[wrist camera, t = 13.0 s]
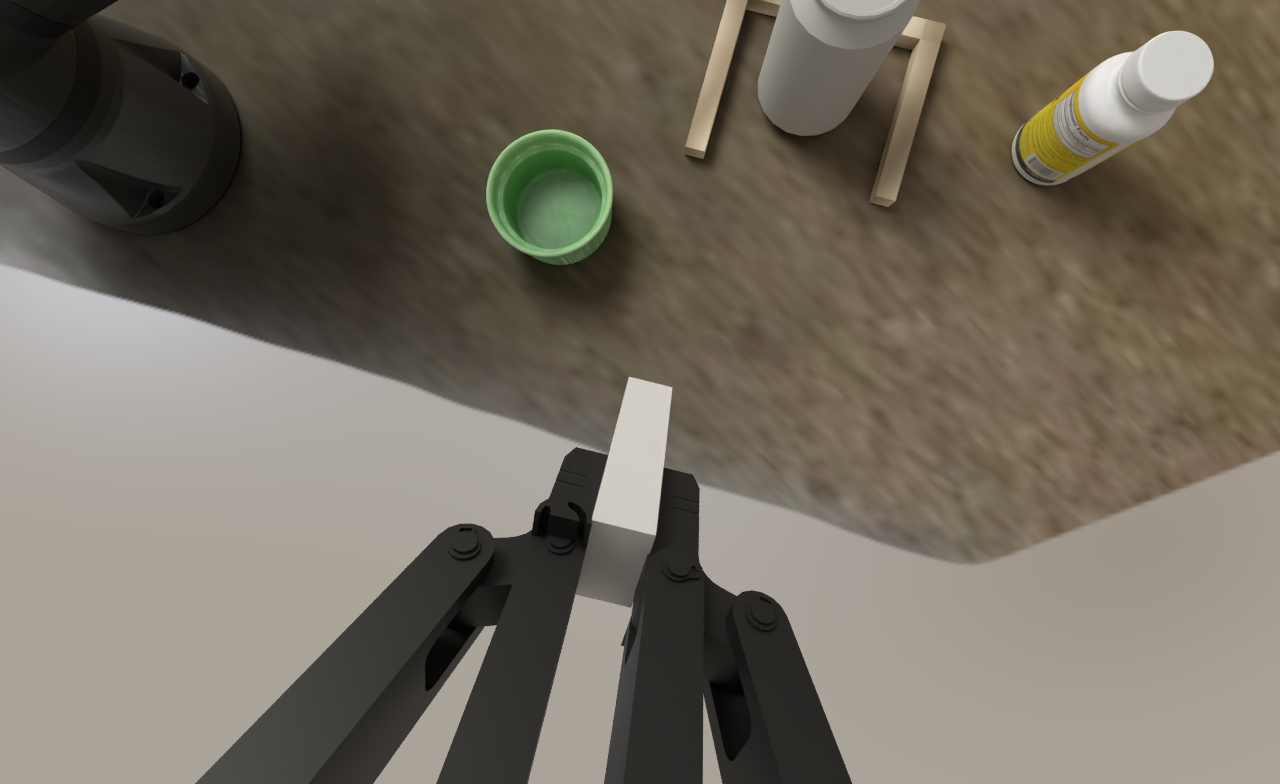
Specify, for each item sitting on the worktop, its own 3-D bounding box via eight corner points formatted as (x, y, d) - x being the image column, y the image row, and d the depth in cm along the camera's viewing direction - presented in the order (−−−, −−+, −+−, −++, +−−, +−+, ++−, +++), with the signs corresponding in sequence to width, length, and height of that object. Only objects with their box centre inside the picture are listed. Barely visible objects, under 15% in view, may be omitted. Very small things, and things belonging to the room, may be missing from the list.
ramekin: (634, 179, 39) (631, 152, 35) (595, 288, 39) (587, 274, 35) (528, 143, 40) (511, 111, 35) (489, 250, 40) (467, 232, 35)
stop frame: (684, 154, 39) (685, 146, 38) (732, -14, 39) (734, -27, 38) (888, 207, 38) (895, 201, 37) (937, 35, 38) (945, 24, 37)
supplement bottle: (1079, 112, 38) (1225, 12, 28) (1085, 184, 38) (1233, 109, 28) (1005, 119, 38) (1123, 22, 28) (1010, 190, 38) (1131, 118, 28)
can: (862, 131, 39) (952, 10, 27) (765, 151, 39) (810, 40, 27) (844, 36, 39) (925, -127, 27) (747, 56, 39) (783, -96, 27)
